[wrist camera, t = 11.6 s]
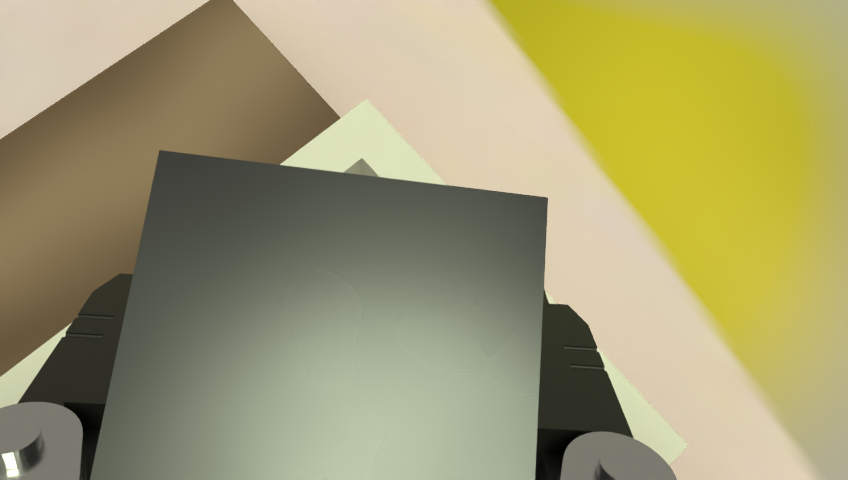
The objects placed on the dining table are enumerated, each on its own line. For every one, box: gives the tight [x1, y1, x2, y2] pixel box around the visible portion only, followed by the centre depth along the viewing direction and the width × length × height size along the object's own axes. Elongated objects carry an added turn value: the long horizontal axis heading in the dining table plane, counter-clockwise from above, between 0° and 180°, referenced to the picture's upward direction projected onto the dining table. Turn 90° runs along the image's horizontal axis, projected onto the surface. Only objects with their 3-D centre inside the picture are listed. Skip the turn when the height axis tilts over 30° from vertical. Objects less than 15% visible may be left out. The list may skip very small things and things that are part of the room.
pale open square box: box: [0, 99, 688, 465], centre depth 16 cm, size 10×10×6 cm
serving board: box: [0, 0, 340, 377], centre depth 20 cm, size 24×12×2 cm, turn 42°
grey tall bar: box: [90, 150, 548, 480], centre depth 11 cm, size 3×4×14 cm
